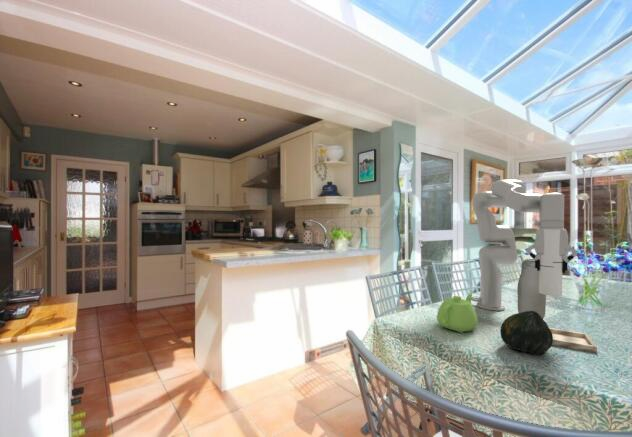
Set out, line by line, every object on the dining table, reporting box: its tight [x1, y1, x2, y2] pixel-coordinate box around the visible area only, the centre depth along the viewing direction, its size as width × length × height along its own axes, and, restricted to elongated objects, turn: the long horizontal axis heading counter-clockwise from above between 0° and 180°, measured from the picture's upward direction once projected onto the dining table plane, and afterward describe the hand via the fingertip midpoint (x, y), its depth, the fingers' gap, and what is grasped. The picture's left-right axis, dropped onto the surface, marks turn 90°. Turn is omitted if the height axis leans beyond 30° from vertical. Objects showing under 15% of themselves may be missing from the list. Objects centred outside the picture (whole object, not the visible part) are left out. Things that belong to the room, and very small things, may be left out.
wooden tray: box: [549, 327, 598, 354], centre depth 116 cm, size 14×14×2 cm
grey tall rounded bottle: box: [516, 258, 547, 320], centre depth 137 cm, size 10×10×28 cm
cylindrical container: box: [539, 229, 563, 297], centre depth 119 cm, size 7×7×25 cm
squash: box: [499, 311, 553, 355], centre depth 108 cm, size 14×15×15 cm
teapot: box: [436, 293, 479, 333], centre depth 130 cm, size 22×15×13 cm
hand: (550, 270), depth 119 cm, fingers closed on cylindrical container, 7 cm apart
